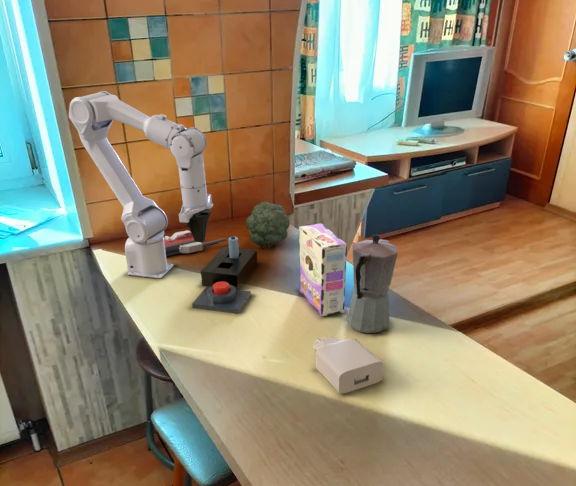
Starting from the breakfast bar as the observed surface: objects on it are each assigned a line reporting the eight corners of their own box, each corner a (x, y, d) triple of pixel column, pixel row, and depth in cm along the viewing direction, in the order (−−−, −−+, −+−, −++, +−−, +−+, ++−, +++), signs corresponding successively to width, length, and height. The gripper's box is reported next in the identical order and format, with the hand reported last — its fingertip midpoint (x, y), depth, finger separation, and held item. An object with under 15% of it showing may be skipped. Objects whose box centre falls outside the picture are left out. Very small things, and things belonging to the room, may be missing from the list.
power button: (211, 294, 133) (210, 287, 132) (217, 287, 136) (216, 280, 135) (226, 296, 132) (225, 289, 132) (231, 289, 135) (231, 282, 134)
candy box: (345, 313, 130) (348, 243, 122) (320, 317, 129) (322, 248, 120) (321, 286, 142) (322, 221, 133) (298, 290, 140) (298, 225, 132)
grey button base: (192, 308, 133) (191, 296, 132) (207, 290, 141) (206, 279, 139) (238, 314, 131) (237, 302, 129) (251, 295, 138) (250, 284, 137)
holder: (202, 286, 143) (200, 271, 141) (224, 260, 155) (223, 246, 153) (238, 290, 140) (237, 275, 138) (257, 264, 153) (256, 249, 151)
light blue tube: (229, 271, 150) (226, 238, 145) (232, 267, 152) (230, 234, 147) (238, 272, 149) (236, 238, 145) (241, 268, 151) (239, 235, 147)
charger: (340, 342, 120) (382, 381, 108) (300, 354, 116) (338, 395, 105) (341, 322, 117) (384, 360, 106) (300, 333, 114) (339, 373, 102)
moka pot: (399, 313, 130) (407, 227, 120) (378, 347, 118) (385, 256, 108) (358, 304, 133) (363, 221, 123) (334, 337, 121) (336, 248, 111)
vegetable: (279, 220, 174) (304, 212, 161) (263, 259, 172) (286, 254, 158) (245, 200, 169) (267, 189, 156) (227, 239, 167) (249, 232, 153)
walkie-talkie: (161, 261, 155) (228, 245, 164) (159, 246, 153) (227, 230, 162) (149, 250, 162) (215, 235, 171) (147, 235, 160) (214, 220, 169)
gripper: (197, 195, 126) (203, 254, 133) (221, 176, 139) (226, 231, 145) (167, 194, 128) (175, 251, 135) (193, 175, 140) (199, 229, 147)
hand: (199, 241), depth 140 cm, fingers closed
